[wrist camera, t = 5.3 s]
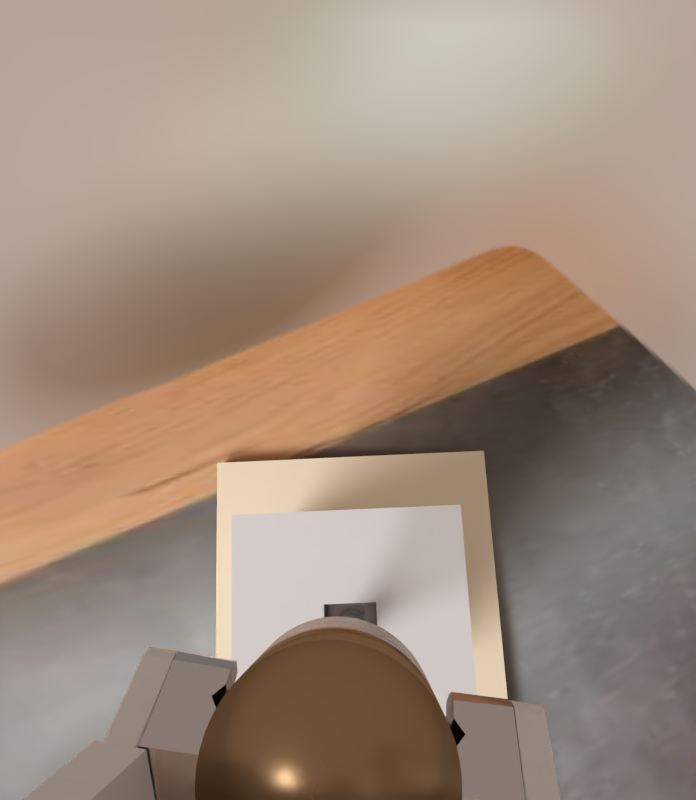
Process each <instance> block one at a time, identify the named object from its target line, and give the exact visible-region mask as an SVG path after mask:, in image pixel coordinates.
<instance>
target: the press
mask: <svg viewBox="0 0 696 800" xmlns="http://www.w3.org/2000/svg"><path fill="white" fill-rule="evenodd" d="M369 602H376V615H377V626H379V627H381V628H383V629H384V630H386V631H388V632H389V633H391V634H392V635H394V636H395V637H396V638H397V639H398V640H399V641H401V642H402V643H403V644H404V645H405V646H406V647H407V649H408V650H409V651H410V652H411V653H412V654H413V656H414V657H415V659H416V660H417V661H418V663H419V664H420V666H421V668H422V670H423V672H424V674H425V675H426V677H427V680H428V682H429V684H430V686H431V688H432V690H433V692H434V694H435V696H436V698H437V700H438V702H439V705H440V707H441V709H442V711H443V713H444V715H445V717H446V702H447V699H448V695H449V694H450V692H457V693H464V694H472V695H480V696H488V697H495V698H503V699H508V698H507V687H506V677H505V666H504V656H503V645H502V635H501V625H500V614H499V604H498V593H497V583H496V572H495V562H494V552H493V541H492V531H491V520H490V510H489V499H488V489H487V478H486V468H485V458H484V451H467V452H445V453H423V454H401V455H379V456H358V457H336V458H314V459H292V460H271V461H249V462H227V463H217V578H216V658H223V659H229V660H236V661H237V670H238V673H237V677H236V680H235V682H236V681H237V680H238V679H239V678H240V676H241V675H242V674H243V673H244V672H245V671H246V670H247V669H248V668H249V667H250V666H251V665H252V664H253V663H254V662H255V661H256V660H257V659H258V658H259V657H260V656H261V654H262V653H263V652H264V651H265V650H266V649H267V648H268V647H269V646H270V645H271V644H272V643H273V642H274V641H275V640H276V639H278V638H279V637H280V636H282V635H283V634H284V633H286V632H287V631H289V630H290V629H292V628H294V627H296V626H298V625H300V624H302V623H305V622H307V621H310V620H314V619H318V618H323V617H325V604H345V603H369Z"/></svg>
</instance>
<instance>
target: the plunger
mask: <svg viewBox="0 0 696 800" xmlns="http://www.w3.org/2000/svg"><path fill="white" fill-rule="evenodd" d="M195 800H462V774H461V767H460V759H459V755H458V751H457V747H456V743H455V739H454V737H453V734H452V731H451V729H450V726H449V724H448V721H447V719H446V717H445V715H444V713H443V711H442V709H441V707H440V705H439V702H438V700H437V698H436V696H435V694H434V692H433V690H432V688H431V686H430V684H429V682H428V680H427V677H426V675H425V674H424V672H423V670H422V668H421V666H420V664H419V663H418V661H417V660H416V659H415V657H414V656H413V654H412V653H411V652H410V651H409V650H408V649H407V647H406V646H405V645H404V644H403V643H402V642H401V641H399V640H398V639H397V638H396V637H395V636H394V635H392V634H391V633H389V632H388V631H386V630H384V629H383V628H381V627H379V626H377V615H376V602H369V603H345V604H325V617H323V618H318V619H314V620H310V621H307V622H305V623H302V624H300V625H298V626H296V627H294V628H292V629H290V630H289V631H287V632H286V633H284V634H283V635H282V636H280V637H279V638H278V639H276V640H275V641H274V642H273V643H272V644H271V645H270V646H269V647H268V648H267V649H266V650H265V651H264V652H263V653H262V654H261V656H260V657H259V658H258V659H257V660H256V661H255V662H254V663H253V664H252V665H251V666H250V667H249V668H248V669H247V670H246V671H245V672H244V673H243V674H242V675H241V676H240V678H239V679H238V680H237V681H236V682H235V683H234V684H233V685H232V686H231V688H230V689H229V690H228V692H227V693H226V694H225V695H224V697H223V698H222V700H221V701H220V703H219V705H218V706H217V708H216V709H215V711H214V713H213V715H212V717H211V719H210V721H209V724H208V726H207V728H206V730H205V733H204V736H203V740H202V743H201V746H200V749H199V754H198V760H197V765H196V774H195Z"/></svg>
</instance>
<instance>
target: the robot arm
mask: <svg viewBox="0 0 696 800" xmlns="http://www.w3.org/2000/svg"><path fill="white" fill-rule="evenodd" d="M237 673H238V670H237V661H236V660H229V659H223V658H216V657H210V656H203V655H197V654H190V653H184V652H180V651H174V650H167V649H160V648H153V647H149V649H148V650H147V651H146V652H145V654H144V655H143V656H142V658H141V660H140V663H139V665H138V667H137V669H136V671H135V674H134V676H133V678H132V680H131V682H130V685H129V687H128V689H127V691H126V693H125V696H124V698H123V700H122V702H121V704H120V706H119V709H118V711H117V713H116V715H115V717H114V720H113V722H112V724H111V726H110V728H109V731H108V733H107V735H106V737H105V739H104V742H100V741H94V742H93V743H91V744H90V745H89V746H88V747H87V748H85V749H84V750H83V751H82V752H81V753H79V754H78V755H77V756H76V757H74V758H73V759H72V760H71V761H70V762H68V763H67V764H66V765H65V766H64V767H62V768H61V769H60V770H59V771H58V772H56V773H55V774H54V775H53V776H51V777H50V778H49V779H48V780H47V781H45V782H44V783H43V784H42V785H41V786H39V787H38V788H37V789H36V790H35V791H33V792H32V793H31V794H30V795H28V796H27V797H26V798H25V799H24V800H195V774H196V765H197V760H198V754H199V749H200V746H201V743H202V740H203V736H204V733H205V730H206V728H207V726H208V724H209V721H210V719H211V717H212V715H213V713H214V711H215V709H216V708H217V706H218V705H219V703H220V701H221V700H222V698H223V697H224V695H225V694H226V693H227V692H228V690H229V689H230V688H231V686H232V685H233V684H234V683H235V680H236V677H237ZM446 719H447V721H448V724H449V726H450V729H451V731H452V734H453V737H454V739H455V743H456V747H457V751H458V755H459V759H460V767H461V774H462V800H561V796H560V790H559V785H558V779H557V774H556V768H555V763H554V757H553V751H552V746H551V740H550V735H549V729H548V723H547V718H546V713H545V711H544V709H543V707H542V706H541V705H540V704H534V703H527V702H519V701H512V700H509V699H503V698H495V697H488V696H480V695H472V694H464V693H457V692H450V694H449V695H448V699H447V702H446Z"/></svg>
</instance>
